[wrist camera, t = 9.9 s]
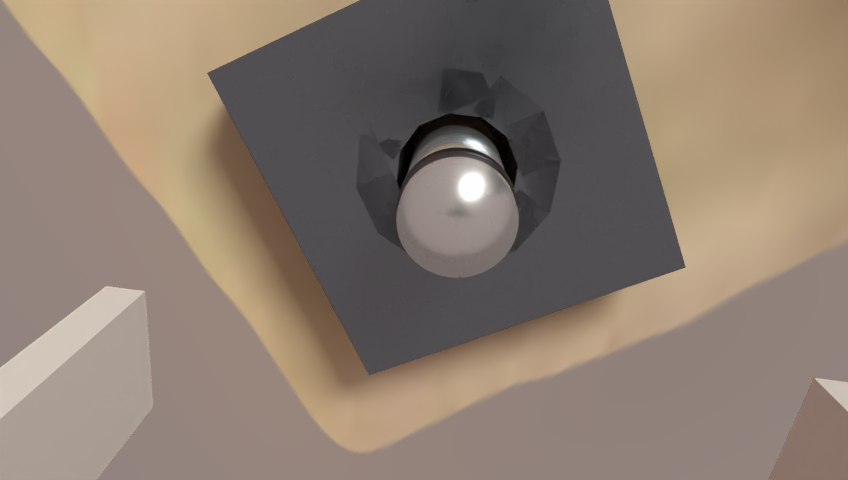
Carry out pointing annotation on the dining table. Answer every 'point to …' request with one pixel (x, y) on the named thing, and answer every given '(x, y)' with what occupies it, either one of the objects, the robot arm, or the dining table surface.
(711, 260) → the dining table surface
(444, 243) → the silver metal cylinder
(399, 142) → the flange plate
